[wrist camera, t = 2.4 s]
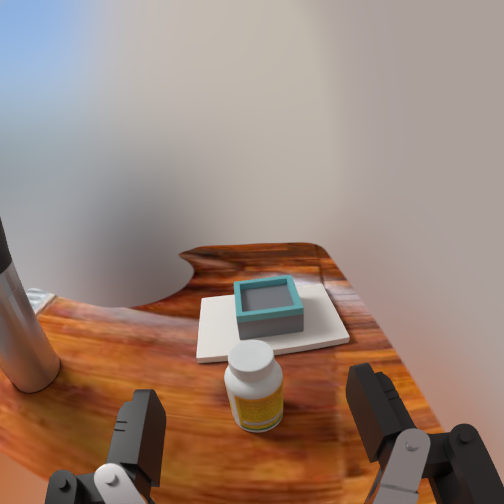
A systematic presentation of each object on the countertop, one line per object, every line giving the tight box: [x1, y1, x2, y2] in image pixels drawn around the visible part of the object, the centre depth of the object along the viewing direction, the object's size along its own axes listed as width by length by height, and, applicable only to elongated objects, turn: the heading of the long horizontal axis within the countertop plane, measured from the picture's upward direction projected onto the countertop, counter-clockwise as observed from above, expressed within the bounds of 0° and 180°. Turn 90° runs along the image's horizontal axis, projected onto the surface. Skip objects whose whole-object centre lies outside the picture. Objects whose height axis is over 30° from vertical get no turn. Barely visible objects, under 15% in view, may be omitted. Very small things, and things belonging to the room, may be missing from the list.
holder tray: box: [196, 275, 350, 363], centre depth 43 cm, size 20×14×5 cm
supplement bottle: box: [224, 340, 283, 432], centre depth 27 cm, size 5×5×10 cm
